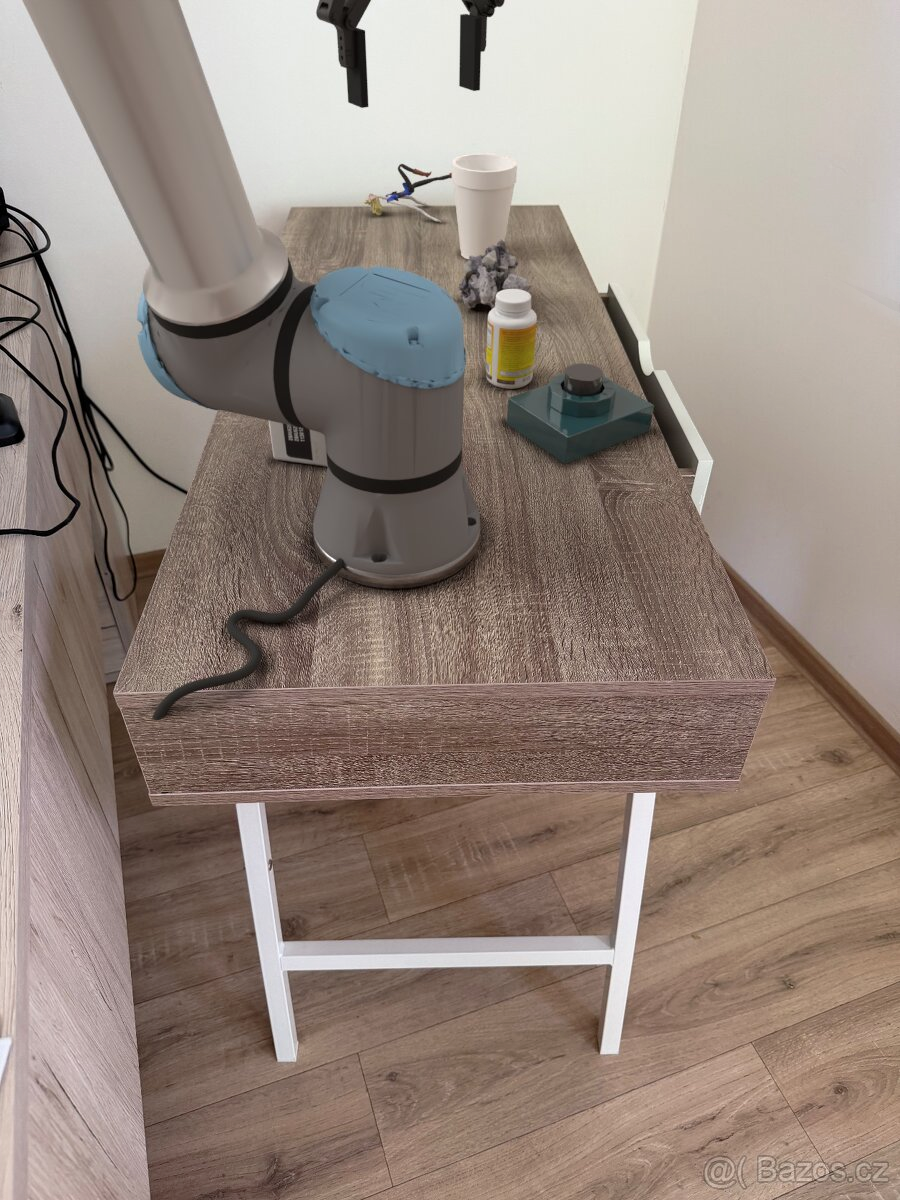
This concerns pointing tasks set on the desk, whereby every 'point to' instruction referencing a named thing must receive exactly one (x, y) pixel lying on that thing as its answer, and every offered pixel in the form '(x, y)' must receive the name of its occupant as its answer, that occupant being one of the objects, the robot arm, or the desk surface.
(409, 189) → the figurine
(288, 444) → the container
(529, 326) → the supplement bottle
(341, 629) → the desk surface
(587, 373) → the push button
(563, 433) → the teal button base
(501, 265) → the mineral specimen
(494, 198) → the foam cup
